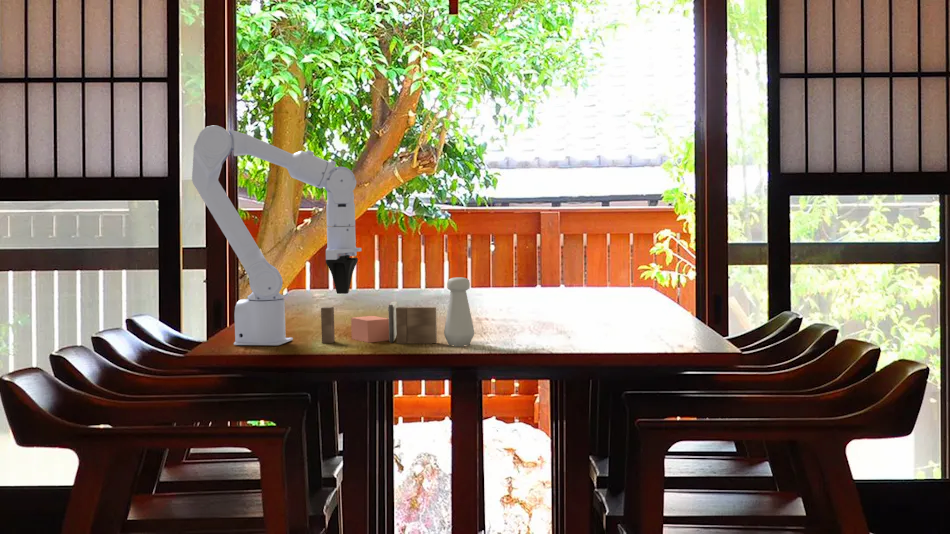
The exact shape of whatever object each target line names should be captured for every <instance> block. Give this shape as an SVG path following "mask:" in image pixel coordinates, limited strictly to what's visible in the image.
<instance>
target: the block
mask: <svg viewBox="0 0 950 534" xmlns="http://www.w3.org/2000/svg"><path fill="white" fill-rule="evenodd" d="M350 320H351V321H350V322H351V323H350V324H351V325H350V326H351V328H350V329H351V340H354V339H355V341H359V342H363V341H364V342H363V343H368V344H369V343H375V342H376V343H377V342H387V341H388V342H389V317H388V318H386V317H381V316H375V315H368V316H367V315H366V316H356V317H350Z"/></svg>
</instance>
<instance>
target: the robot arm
mask: <svg viewBox="0 0 950 534" xmlns="http://www.w3.org/2000/svg"><path fill="white" fill-rule="evenodd" d="M227 130H228V131H227ZM227 130H226V129H225V128H224V127H222V126H219V125H208V126H206V127H204V128H203V129H202V130H201V131H200V132H199V133H198V136H197V138H196V141H195V143H194V145H193V155H192V157H193V158H192V172H191V181H192V184H193V186H194V188H195V189H196V191H197V192H198V194H199V196H200V197H201V199H202V200H203V203H205V205H206V207H207V208H208V210H209V212H210V214H211V216H212V217H213V219H214V221H215V222H216V224H217V225H218V228H220V229H219V230H221V232H222V234H223V235H224V236H225V238H226V240H227V242H228V244H229V245H230V246H231V248H232V250H233V252H234V253H235V255H236V256H237V258H238V260H239V262H240V263H241V265H242V267H243V269H244V271H245V273H246V274H247V276H248V279H249V280H248V282H249V288H250V290H251V291H252V292H251V293H250V294H248V295H247V296H246V297H247V298H244V299H243V298H242V299H239V300H238V301H237V302H236V303H235V306H234V316H233V317H234V338H235V340H234V342H233V346H281V345H283V344H287V343H288V342H291V341H293V339H294V338H293V337H286V336H287V334H286V311H285V309H286V308H285V307H286V305H285V304H286V301H285V295H284V294H281V293H280V292H281V290H282V288H283V277H282V275H281V273H280V272H279V270H278V268H276V267H275V266H274V265H272V264H270V262H268V260H267V259H266V257H265V256H264V253H262V251H261V249H260V248H259V246H258V244H257V243H256V241H255V239H254V237H253V236H252V234H251V233H250V231H249V229H248V228H247V226H246V225H245V222H244V221H243V219H242V218H241V216H240V214H239V212H238V211H237V209H236V208H235V206H234V204H233V203H232V201H231V199H230V198H229V196H228V195H227V193H226V190H225V189H224V188H223V185H222V184H221V183H220V181H219V178H220V174H221V171H222V168H223V165H224V163H225V161H226V160H227V159H228V157H229V155H230V154H231V152H233V156H234V157H238V156H239V157H241V156H247V155H248V156H251V157H253V158H257V159H260V160H262V161H266V162H269V163H271V164H274V165H275V166H278V167H279V166H280V167H282V168H283V169H286V170H287V172H288V174H289V176H290V177H291V178H292V179H294V180H298V181H300V182H302V183H303V184H304V183H305V184H308V185H310V186H313V187H314V188H318V189H323V188H324V189H325V191H326V198H327V199H326V201H327V203H326V207H325V208H326V209H325V210H326V213H325V214H326V239H327V240H326V241H327V242H326V244H327V245H326V246H327V247H326V249H325V263H326V265H327V267H328V269H329V271H330V273H331V277H332V279H333V284H334V287H335V291H336V294H337V295H340V294H341V295H342V294H343V295H344V294H345V295H346V294H347V295H348V294H349V292H350V289H351V288H350V287H351V283H352V278H353V274H354V270H355V268H356V266H357V263H358V261H359V259H358V257H357V252H362V251H363V250H362V247H357V246H356V245H357V243H356V242H357V239H356V204H355V202H354V201H355V194H354V193H355V192H354V190H355V189H356V187H357V179H356V176H355V174H354V173H353V171H352V170H351V169H349V168H348V167H345V166H336V164H337V162H336V161H335V160H330V161H328V160H326V159H323V158H321V157H318V156H316V155H314V154H315V153H314V151H311V150H309V149H307V150H306V151H303V150H299V151H297V152H294V153H291V152H289V151H286V150H284V149H282V148H279V147H277V146H275V145H272V144H270V143H268V142H265V141H263V140H262V139H259V138H256V137H254V136H252V135H249V134H247V133H243V132H241V131H236V130H233V129H227Z"/></svg>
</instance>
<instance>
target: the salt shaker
mask: <svg viewBox="0 0 950 534" xmlns="http://www.w3.org/2000/svg"><path fill="white" fill-rule="evenodd" d="M470 286H471V283H470V280H469V279H468V278H466V277H460V276H459V277H451V278H449V279H448V280H447V283H446V287H447V290H449V291H450V293H449V299H448V305H447V312H446V317H445V325H444V332H443V335H444V337H445V339H446V343H447V344H449V345H448V346H450V345H454V346H453V347H465V346H464V345H468V346H470V344H471V342H472V340H473V337H474V335H475V327H474V324H473V318H472V315H471V314H472V313H471V310H470V309H471V308H470V305H469V303H470V302H469V299H468V294H467V291H468V290H470Z"/></svg>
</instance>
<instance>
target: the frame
mask: <svg viewBox="0 0 950 534" xmlns="http://www.w3.org/2000/svg"><path fill="white" fill-rule="evenodd" d="M388 307H389V311H388V319H389V340H388V342H389V344H394V341H395V340H394V338H393V305H390V304H389V305H388ZM320 317H321V319H320V320H321V323H320V325H321V343H322V344H332V343H334V342H335V338H336V337H335V306H322V307H320ZM437 325H438V324H437V306H434V307H433V306H432V307H431V306H430V307H429V306H428V307H427V306H426V307H425V306H421V307H420V306H419V307H418V306H415V307H413V306H411V307H410V306H397V308H396V332H397V336H396V344H398V345H399V344H402V345H403V344H404V345H405V344H428V345H429V344H431V345H432V343H436V344H437V343H438V342H437V341H438V340H437V339H438V338H437V337H438V335H437V334H438V333H437V331H438V330H437V328H438V327H437Z"/></svg>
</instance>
